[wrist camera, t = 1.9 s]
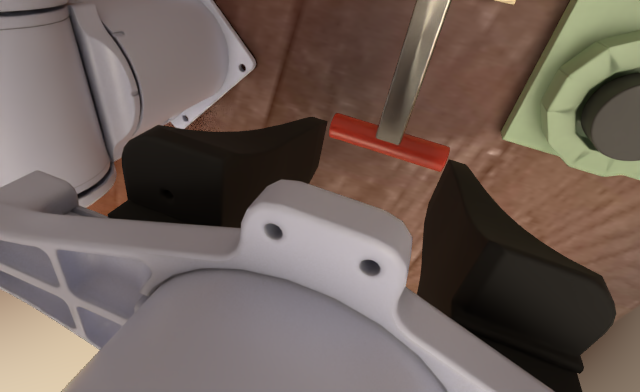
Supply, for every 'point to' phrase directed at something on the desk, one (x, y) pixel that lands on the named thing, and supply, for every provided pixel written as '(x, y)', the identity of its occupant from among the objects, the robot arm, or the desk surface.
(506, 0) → the bracket
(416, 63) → the lever
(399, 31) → the desk surface
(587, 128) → the button
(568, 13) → the button box
